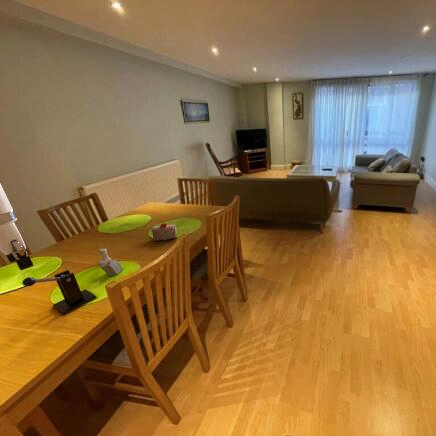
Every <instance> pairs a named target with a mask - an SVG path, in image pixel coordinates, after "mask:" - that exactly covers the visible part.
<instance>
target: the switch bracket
mask: <svg viewBox="0 0 436 436" xmlns="http://www.w3.org/2000/svg"><path fill="white" fill-rule="evenodd" d="M63 274H68V275H65V276H63V277H60V275H63ZM55 277H60V278H58V279H59V280H58V281H55V282H56V284H57V286H58V288H59V291H60V292H61V295H62V297H63V299H62V300H60V301H57V302H56V303H53V304H52V306H53V308H54V309H56V310H57V311H58V312H59V313H61V314H62V315H63V316H65V315H67V314H69V313H70V312H72V311H74V310H76V309H79V308H80V307H82V306H84V305H86V304H88V303H89V302H92V301H94V300H96V299H97V296H96V294H94V293H92V292H91V291H89V290H88V289H86V288H84V289H82V290H81V287H80V286H79V283H78V281H77V278H76V275H75V273H74V272H70V270H69V269H65V270H63V271H61V272H58V273H56V274H53V278H55Z"/></svg>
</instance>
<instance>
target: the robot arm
mask: <svg viewBox="0 0 436 436" xmlns="http://www.w3.org/2000/svg"><path fill="white" fill-rule="evenodd" d="M16 221H18V217H17V215H16V212H15V211H14V209H13V206H12V204H11V203H10V201H9V198H8V196H7V194H6V192H5V190H4V187H3V185H2V184H1V183H0V252H1V253H2V254H3V255H5V256H6V258H7V260H8V262H9V263H14V262H15V263H16V265H17V267H18V269H19V270H20V271H24V270H28V269H29V268H32V267H34V263H33V261H32V259H31V257H30V255H29V253H27V251H26V249H27V245H26V243H25V241H24V239H23V237H22V235H21V232H20V231H19V229H18V227H17V225H16V223H15V222H16Z"/></svg>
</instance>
